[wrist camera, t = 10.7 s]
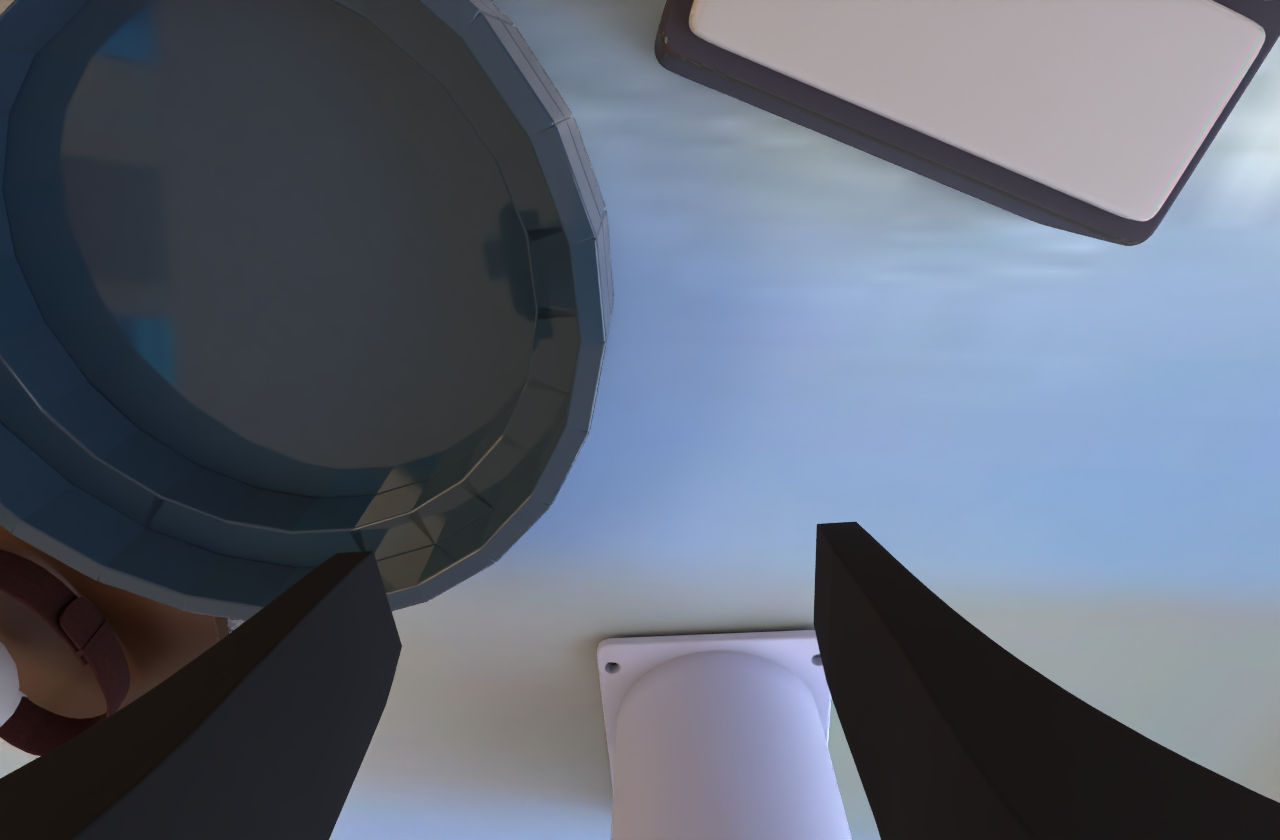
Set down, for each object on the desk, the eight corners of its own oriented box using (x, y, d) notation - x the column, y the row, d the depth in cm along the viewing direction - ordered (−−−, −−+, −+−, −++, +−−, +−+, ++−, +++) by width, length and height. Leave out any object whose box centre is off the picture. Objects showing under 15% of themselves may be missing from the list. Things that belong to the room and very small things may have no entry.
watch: (-96, 556, 22) (-223, 638, 19) (17, 508, 22) (-96, 585, 18) (76, 718, 25) (-9, 812, 22) (181, 681, 25) (109, 774, 21)
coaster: (270, 720, 26) (261, 733, 26) (-15, 730, 27) (-29, 744, 26) (163, 461, 21) (151, 471, 21) (-181, 479, 22) (-203, 489, 21)
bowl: (633, 524, 22) (630, 610, 19) (105, 549, 23) (3, 637, 19) (576, -162, 15) (553, -239, 11) (-205, -94, 15) (-464, -146, 12)
